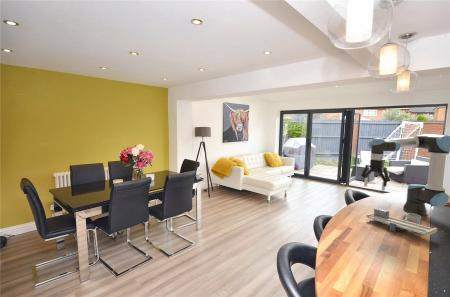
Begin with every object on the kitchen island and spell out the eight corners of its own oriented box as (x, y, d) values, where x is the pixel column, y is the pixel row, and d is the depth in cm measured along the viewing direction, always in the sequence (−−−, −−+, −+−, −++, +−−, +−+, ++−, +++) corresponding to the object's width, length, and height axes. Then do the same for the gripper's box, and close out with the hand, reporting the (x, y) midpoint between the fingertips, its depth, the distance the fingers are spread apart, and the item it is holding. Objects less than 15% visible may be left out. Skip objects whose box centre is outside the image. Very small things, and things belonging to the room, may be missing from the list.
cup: (417, 230, 152) (419, 218, 151) (400, 225, 160) (401, 213, 159) (421, 228, 156) (422, 215, 155) (403, 222, 164) (404, 211, 163)
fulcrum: (401, 226, 158) (402, 218, 157) (406, 228, 155) (407, 220, 154) (389, 230, 151) (390, 222, 150) (394, 232, 148) (395, 224, 148)
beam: (375, 214, 171) (375, 211, 171) (436, 231, 139) (437, 228, 139) (366, 217, 166) (366, 214, 166) (427, 235, 134) (427, 232, 134)
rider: (377, 215, 167) (377, 207, 167) (388, 218, 160) (389, 210, 159) (373, 216, 165) (374, 208, 165) (385, 219, 158) (385, 211, 158)
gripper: (357, 157, 173) (355, 184, 175) (392, 162, 152) (389, 193, 154) (363, 157, 176) (361, 183, 178) (398, 161, 155) (395, 192, 157)
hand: (374, 188), depth 166 cm, fingers open, 12 cm apart
